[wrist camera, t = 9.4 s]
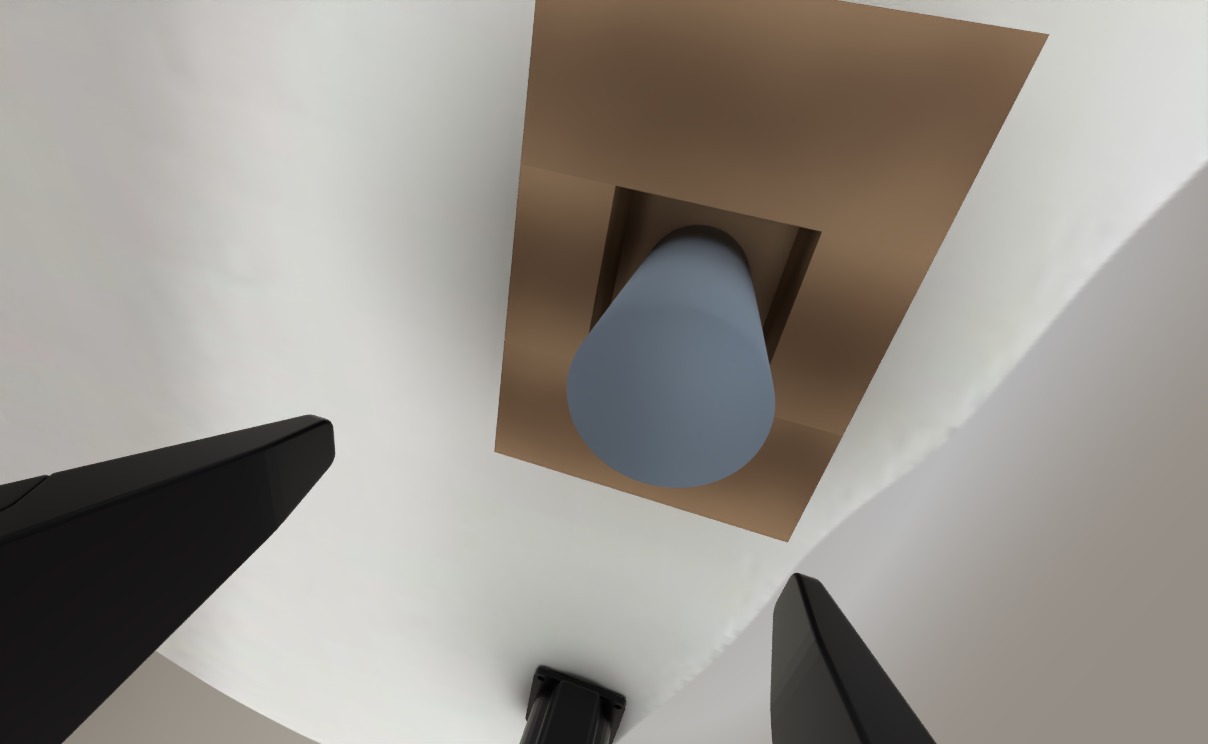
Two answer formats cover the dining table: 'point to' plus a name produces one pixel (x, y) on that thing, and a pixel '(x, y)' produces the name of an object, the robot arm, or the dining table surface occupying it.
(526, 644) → the dining table surface
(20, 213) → the dining table surface
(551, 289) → the socket block
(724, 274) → the pin
